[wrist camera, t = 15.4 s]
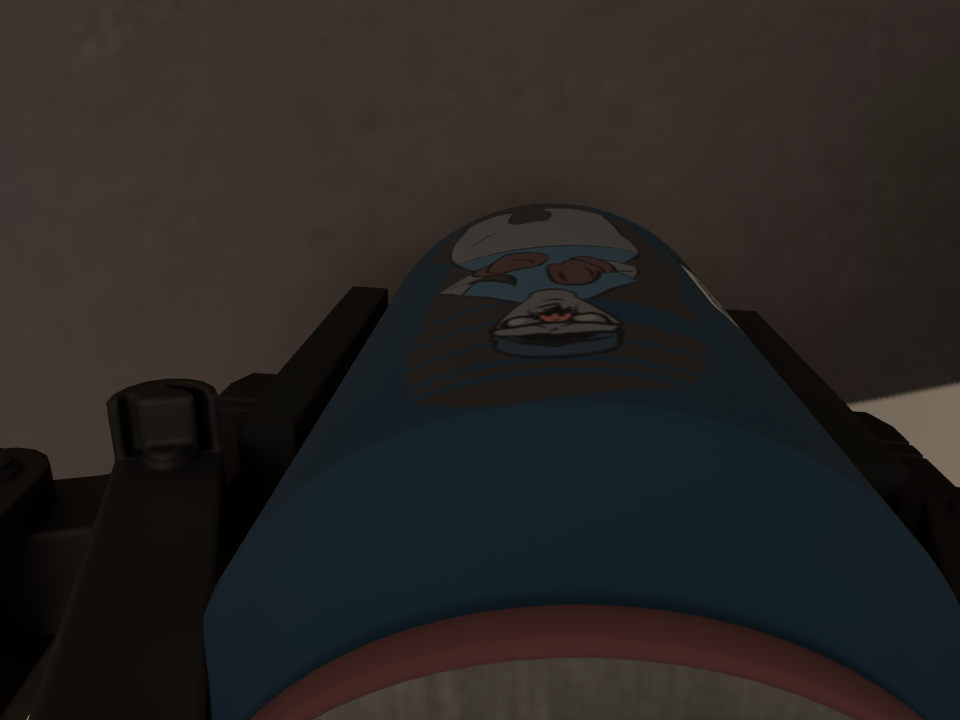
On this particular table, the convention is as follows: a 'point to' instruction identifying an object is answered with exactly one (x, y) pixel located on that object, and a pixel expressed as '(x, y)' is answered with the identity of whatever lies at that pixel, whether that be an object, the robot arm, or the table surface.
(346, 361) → the robot arm
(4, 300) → the table surface
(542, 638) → the soda can
